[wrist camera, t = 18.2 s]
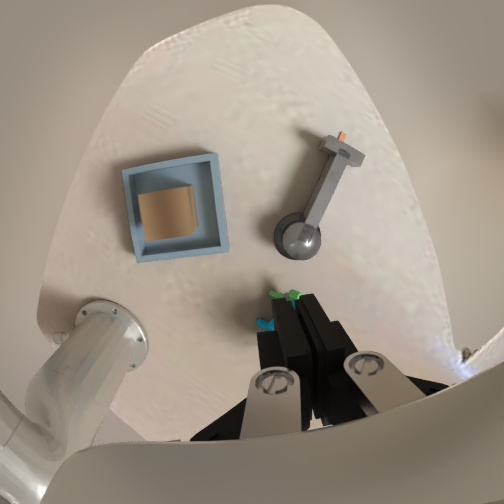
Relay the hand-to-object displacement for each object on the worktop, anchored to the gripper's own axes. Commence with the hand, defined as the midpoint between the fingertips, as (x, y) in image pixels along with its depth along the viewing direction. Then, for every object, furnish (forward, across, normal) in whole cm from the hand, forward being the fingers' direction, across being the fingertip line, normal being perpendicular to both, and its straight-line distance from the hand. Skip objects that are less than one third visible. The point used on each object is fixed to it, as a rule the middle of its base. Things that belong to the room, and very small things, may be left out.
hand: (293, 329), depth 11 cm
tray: (+25, +10, -4) cm, 27 cm away
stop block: (+24, +10, -3) cm, 26 cm away
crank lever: (+25, -8, -3) cm, 26 cm away
